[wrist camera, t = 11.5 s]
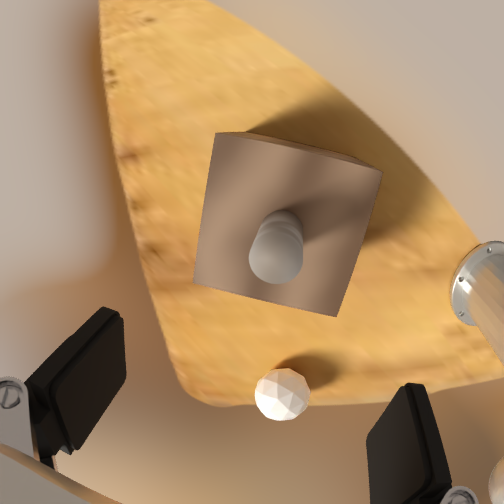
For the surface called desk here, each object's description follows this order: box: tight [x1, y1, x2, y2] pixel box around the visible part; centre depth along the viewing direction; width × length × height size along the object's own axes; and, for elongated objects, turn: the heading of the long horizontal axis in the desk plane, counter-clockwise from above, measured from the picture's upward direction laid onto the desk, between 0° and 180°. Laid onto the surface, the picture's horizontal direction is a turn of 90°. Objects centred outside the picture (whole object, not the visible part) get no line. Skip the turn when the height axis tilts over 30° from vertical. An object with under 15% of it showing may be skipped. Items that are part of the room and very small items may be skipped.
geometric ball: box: [255, 368, 311, 420], centre depth 42 cm, size 8×8×8 cm
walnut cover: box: [193, 132, 383, 317], centre depth 28 cm, size 12×12×18 cm
